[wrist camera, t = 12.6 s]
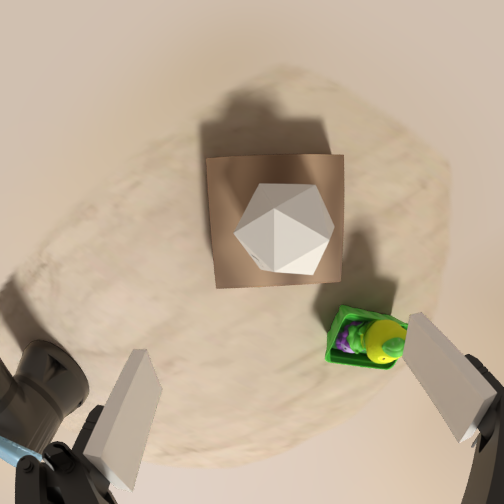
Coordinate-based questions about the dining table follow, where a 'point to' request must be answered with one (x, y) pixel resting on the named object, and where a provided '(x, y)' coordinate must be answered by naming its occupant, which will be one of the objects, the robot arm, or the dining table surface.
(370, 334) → the fruit basket
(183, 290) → the dining table surface
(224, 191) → the walnut block
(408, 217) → the dining table surface
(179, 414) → the dining table surface
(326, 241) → the die
